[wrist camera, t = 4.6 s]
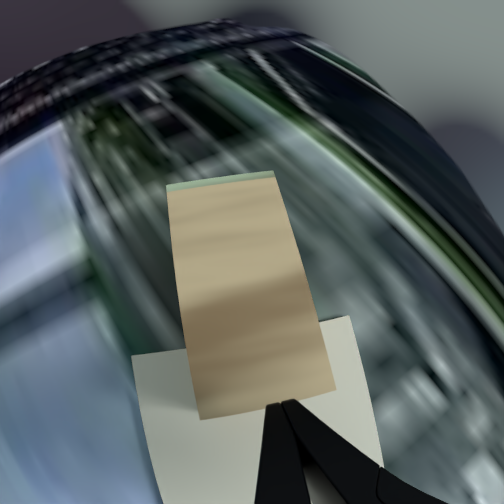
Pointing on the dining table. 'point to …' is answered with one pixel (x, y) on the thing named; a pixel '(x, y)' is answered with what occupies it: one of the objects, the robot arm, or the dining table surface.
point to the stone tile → (238, 424)
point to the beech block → (243, 296)
